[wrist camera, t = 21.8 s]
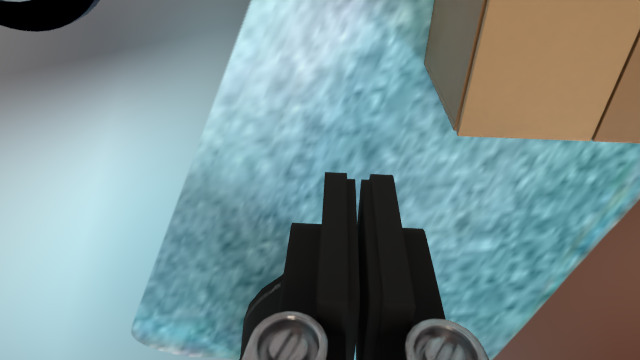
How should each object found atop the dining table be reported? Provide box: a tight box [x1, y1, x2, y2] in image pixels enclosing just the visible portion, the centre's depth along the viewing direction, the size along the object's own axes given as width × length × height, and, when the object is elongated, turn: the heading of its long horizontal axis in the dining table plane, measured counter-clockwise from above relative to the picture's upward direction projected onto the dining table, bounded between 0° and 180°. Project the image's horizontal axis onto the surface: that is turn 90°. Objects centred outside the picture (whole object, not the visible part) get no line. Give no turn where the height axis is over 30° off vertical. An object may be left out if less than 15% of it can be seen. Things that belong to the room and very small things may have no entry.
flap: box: [457, 0, 640, 141], centre depth 23 cm, size 8×15×1 cm, turn 179°
